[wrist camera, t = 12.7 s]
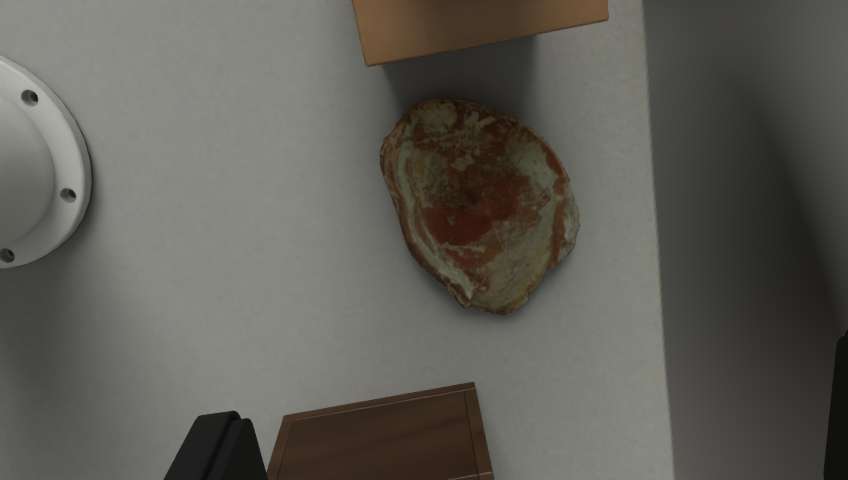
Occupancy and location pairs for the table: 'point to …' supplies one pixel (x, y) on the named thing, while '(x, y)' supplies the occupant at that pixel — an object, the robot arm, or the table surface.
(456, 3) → the stand
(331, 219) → the table surface
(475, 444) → the wooden box
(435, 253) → the stone
